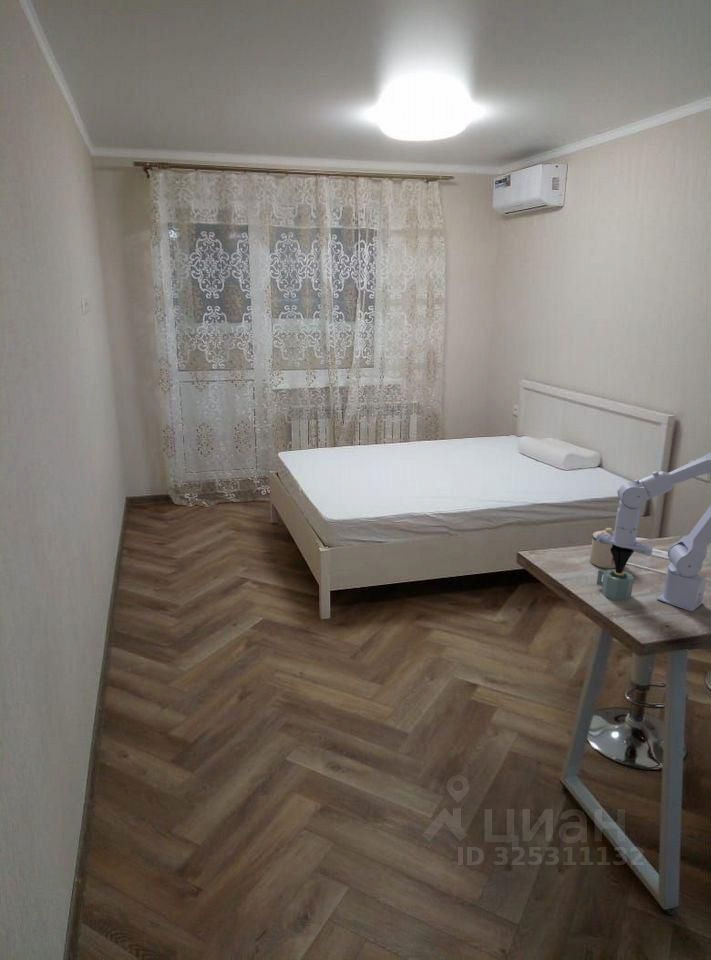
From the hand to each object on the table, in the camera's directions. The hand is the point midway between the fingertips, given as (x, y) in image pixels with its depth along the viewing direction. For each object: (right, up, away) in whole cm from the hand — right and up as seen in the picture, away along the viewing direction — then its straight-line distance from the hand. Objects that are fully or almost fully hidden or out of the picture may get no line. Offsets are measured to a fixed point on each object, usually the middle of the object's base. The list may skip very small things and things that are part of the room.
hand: (619, 571), depth 179 cm
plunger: (0, -5, +2) cm, 5 cm away
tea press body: (-1, -6, +3) cm, 7 cm away
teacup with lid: (+5, 0, +24) cm, 25 cm away
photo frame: (+21, 0, +26) cm, 34 cm away
